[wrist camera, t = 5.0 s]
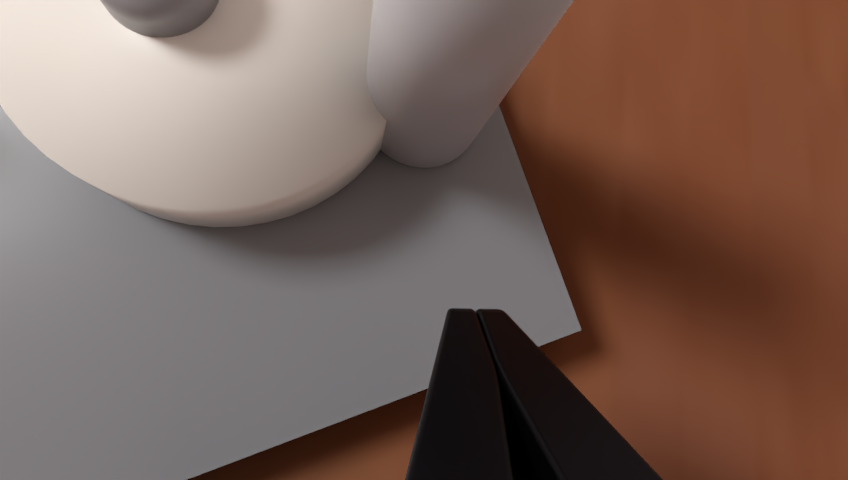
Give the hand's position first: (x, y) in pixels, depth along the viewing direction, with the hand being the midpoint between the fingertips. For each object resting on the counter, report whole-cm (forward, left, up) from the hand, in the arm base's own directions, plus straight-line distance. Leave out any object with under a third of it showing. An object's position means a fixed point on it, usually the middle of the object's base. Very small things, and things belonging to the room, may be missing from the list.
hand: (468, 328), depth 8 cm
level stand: (+7, +4, -7) cm, 10 cm away
